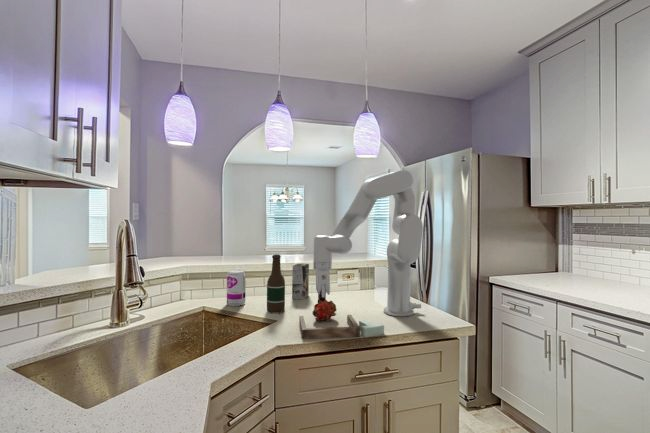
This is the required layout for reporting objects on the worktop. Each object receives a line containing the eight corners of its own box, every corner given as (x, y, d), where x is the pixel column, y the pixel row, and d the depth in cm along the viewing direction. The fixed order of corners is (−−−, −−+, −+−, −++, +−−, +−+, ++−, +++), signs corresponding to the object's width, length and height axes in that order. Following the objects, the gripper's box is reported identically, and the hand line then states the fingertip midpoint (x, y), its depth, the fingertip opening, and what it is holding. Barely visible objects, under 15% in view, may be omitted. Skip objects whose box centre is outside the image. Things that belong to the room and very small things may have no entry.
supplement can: (235, 307, 155) (236, 273, 155) (222, 304, 160) (223, 271, 159) (249, 303, 162) (249, 270, 162) (236, 300, 166) (236, 269, 166)
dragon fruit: (337, 320, 144) (315, 331, 136) (324, 305, 148) (302, 315, 140) (345, 307, 139) (322, 317, 131) (331, 291, 144) (309, 301, 136)
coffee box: (304, 299, 171) (304, 266, 170) (291, 298, 172) (292, 265, 172) (309, 295, 180) (309, 263, 179) (296, 294, 181) (297, 262, 180)
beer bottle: (288, 309, 153) (289, 254, 153) (278, 314, 146) (279, 256, 146) (273, 307, 156) (273, 253, 156) (262, 311, 149) (263, 255, 149)
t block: (370, 327, 132) (371, 319, 132) (383, 333, 125) (384, 325, 125) (352, 330, 129) (352, 321, 129) (365, 337, 122) (365, 328, 121)
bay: (350, 322, 137) (351, 314, 137) (360, 336, 122) (360, 328, 122) (299, 323, 135) (299, 315, 135) (302, 338, 119) (302, 329, 119)
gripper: (334, 268, 138) (333, 315, 139) (329, 262, 153) (328, 304, 154) (315, 268, 138) (314, 315, 138) (311, 262, 152) (311, 305, 153)
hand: (321, 309), depth 146 cm, fingers closed
